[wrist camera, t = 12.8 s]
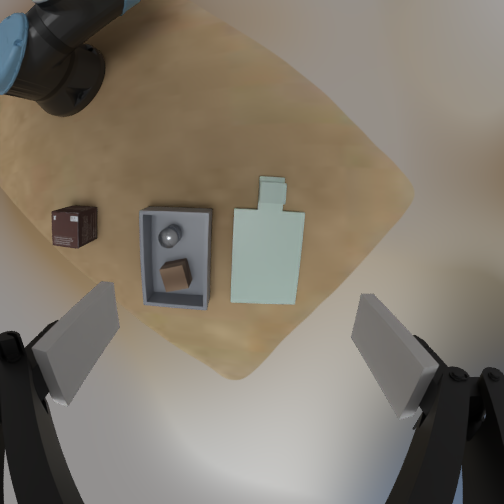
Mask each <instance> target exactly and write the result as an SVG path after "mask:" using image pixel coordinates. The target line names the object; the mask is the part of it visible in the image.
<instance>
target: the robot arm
mask: <svg viewBox="0 0 504 504" xmlns="http://www.w3.org/2000/svg"><path fill="white" fill-rule="evenodd" d="M32 1H33V2H34V3H35V5H34V6H33V7H32V8H31V9H30V10H29V11H28V12H27V13H26V14H24V13H14V14H12V15H11V16H8V17H7V18H6V19H4V20H3V21H2V23H0V95H3V94H5V95H10V96H15V97H19V98H24V99H28V100H33V101H36V102H37V103H38V104H39V105H40V106H41V107H42V108H43V109H44V110H45V111H46V112H47V113H49V114H51V115H55V116H60V117H66V116H70V115H73V114H75V113H77V112H79V111H80V110H82V109H83V108H84V107H85V106H87V105H88V104H89V103H90V101H91V100H92V99H93V98H94V96H95V95H96V93H97V92H98V90H99V88H100V86H101V84H102V81H103V78H104V74H105V61H104V58H103V56H102V54H101V53H100V52H99V51H98V50H97V49H96V48H94V47H93V46H91V45H89V44H85V43H84V42H85V41H86V40H87V39H89V38H90V37H91V36H93V35H94V34H95V33H96V32H98V31H99V30H100V29H102V28H103V27H104V26H106V25H107V24H109V23H110V22H111V21H113V20H114V19H116V18H117V17H119V16H122V15H123V14H124V13H125V12H126V11H127V10H129V9H130V8H131V7H133V6H134V5H136V4H137V3H139V2H140V1H141V0H32ZM119 328H120V326H119V319H118V313H117V307H116V299H115V291H114V283H113V282H104V281H101V282H100V283H99V284H98V285H97V286H96V287H94V288H93V289H92V290H91V291H90V292H89V293H88V294H87V295H85V296H84V297H83V298H82V299H81V300H80V301H79V302H78V303H77V304H76V305H75V306H74V307H72V308H71V309H70V310H69V311H68V312H67V313H66V314H65V315H64V316H63V317H62V318H61V319H60V320H57V321H55V322H53V323H51V324H49V325H48V326H47V327H46V328H44V330H43V332H40V333H39V334H38V336H36V337H35V338H34V339H33V340H32V341H31V342H30V343H29V344H28V345H27V346H26V347H25V348H24V345H23V342H22V339H21V337H20V334H19V333H17V332H15V331H7V332H4V333H1V334H0V504H4V493H3V477H4V475H3V474H4V455H5V450H6V456H7V461H8V466H9V471H10V475H11V480H12V484H13V488H14V492H15V495H16V499H17V502H18V504H84V502H83V500H82V498H81V496H80V494H79V492H78V489H77V487H76V485H75V483H74V480H73V478H72V476H71V473H70V471H69V468H68V466H67V463H66V460H65V458H64V455H63V452H62V449H61V447H60V444H59V441H58V437H57V434H56V431H55V428H54V424H53V421H52V417H51V414H50V409H49V406H48V403H47V400H46V398H45V397H46V395H47V394H48V393H50V395H51V397H52V399H53V401H54V402H55V403H58V404H62V405H65V406H67V407H68V406H69V404H70V403H71V401H72V400H73V398H74V396H75V395H76V393H77V392H78V390H79V388H80V387H81V385H82V384H83V382H84V380H85V379H86V377H87V376H88V374H89V373H90V371H91V369H92V368H93V366H94V365H95V363H96V362H97V360H98V358H99V357H100V356H101V354H102V353H103V351H104V349H105V348H106V347H107V345H108V344H109V342H110V341H111V339H112V338H113V336H114V335H115V333H116V332H117V330H118V329H119ZM351 338H352V340H353V342H354V343H355V345H356V347H357V348H358V350H359V352H360V353H361V355H362V356H363V358H364V360H365V362H366V363H367V365H368V367H369V368H370V370H371V372H372V373H373V375H374V377H375V379H376V381H377V382H378V384H379V386H380V387H381V389H382V391H383V393H384V394H385V396H386V398H387V400H388V401H389V403H390V405H391V407H392V409H393V410H394V412H395V414H396V416H397V418H398V419H403V418H407V417H411V416H413V415H414V414H415V412H416V410H417V408H418V407H419V406H420V408H421V409H422V411H423V412H422V414H421V416H420V417H419V419H418V421H417V422H416V424H415V425H414V427H413V430H414V429H415V428H416V430H415V433H414V436H413V439H412V442H411V444H410V447H409V450H408V453H407V455H406V458H405V460H404V463H403V465H402V468H401V470H400V473H399V475H398V477H397V480H396V482H395V484H394V486H393V489H392V491H391V493H390V495H389V497H388V499H387V501H386V503H385V504H452V503H453V499H454V496H455V492H456V488H457V484H458V479H459V475H460V470H461V465H462V478H463V504H504V375H503V373H502V372H500V370H498V369H496V368H492V367H487V368H485V369H484V370H483V371H482V374H481V375H480V377H469V375H468V374H467V372H466V371H464V370H463V369H461V368H458V367H447V365H446V364H445V363H444V362H443V361H442V360H441V359H440V358H439V356H438V355H437V354H436V353H435V352H434V351H433V350H432V349H431V348H430V347H429V346H428V344H427V343H426V342H425V341H424V340H423V339H420V338H419V337H417V336H416V335H412V334H411V333H410V332H409V331H408V330H407V329H406V327H405V326H404V325H403V324H402V323H401V322H400V321H399V320H398V319H397V318H396V317H395V316H394V315H393V314H392V313H391V312H390V311H389V309H388V308H387V307H386V306H385V305H384V304H383V303H382V302H381V301H380V300H379V299H378V298H377V297H376V296H375V295H374V294H361V296H360V301H359V306H358V310H357V315H356V319H355V323H354V327H353V331H352V336H351ZM485 414H486V417H485V418H484V415H485Z"/></svg>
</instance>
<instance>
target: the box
mask: <svg viewBox="0 0 504 504" xmlns="http://www.w3.org/2000/svg"><path fill="white" fill-rule="evenodd" d="M95 239H97V207H88V206H69V207H65V208H62V209H58V210H55V211H52V240H53V245H56V246H63V247H70V248H80V247H82V246H84V245H86V244H87V243H89V242H91V241H93V240H95Z"/></svg>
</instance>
